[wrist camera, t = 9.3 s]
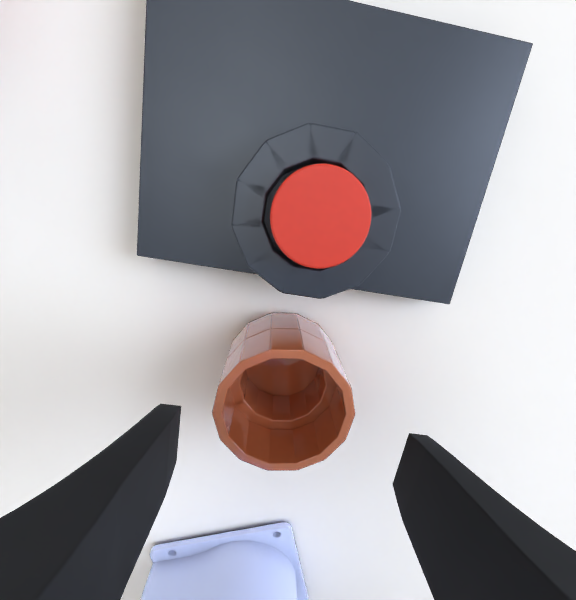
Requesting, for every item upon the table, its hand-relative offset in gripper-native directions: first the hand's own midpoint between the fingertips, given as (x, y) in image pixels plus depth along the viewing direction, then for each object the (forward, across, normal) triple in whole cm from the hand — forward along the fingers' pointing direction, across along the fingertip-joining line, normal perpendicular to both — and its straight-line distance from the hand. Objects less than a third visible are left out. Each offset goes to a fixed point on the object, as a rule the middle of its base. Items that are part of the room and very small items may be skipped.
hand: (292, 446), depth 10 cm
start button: (+5, 0, -7) cm, 9 cm away
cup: (+8, 0, +1) cm, 8 cm away
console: (+8, 0, -9) cm, 12 cm away
